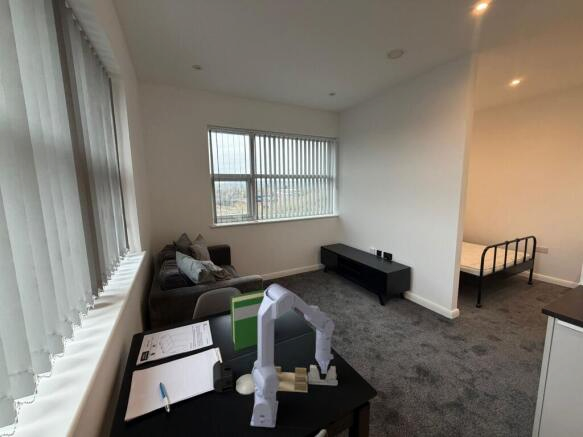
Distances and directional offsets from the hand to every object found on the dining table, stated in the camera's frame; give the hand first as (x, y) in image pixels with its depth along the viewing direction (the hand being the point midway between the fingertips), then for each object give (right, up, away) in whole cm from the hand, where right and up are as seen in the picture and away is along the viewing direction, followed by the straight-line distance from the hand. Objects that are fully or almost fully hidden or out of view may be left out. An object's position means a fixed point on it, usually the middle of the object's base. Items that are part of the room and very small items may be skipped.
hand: (322, 376), depth 98 cm
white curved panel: (0, -1, 0) cm, 1 cm away
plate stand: (0, -2, 0) cm, 2 cm away
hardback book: (-33, +1, +25) cm, 42 cm away
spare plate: (-30, -2, -2) cm, 30 cm away
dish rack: (-14, -2, -1) cm, 14 cm away
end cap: (-40, -2, -1) cm, 40 cm away
